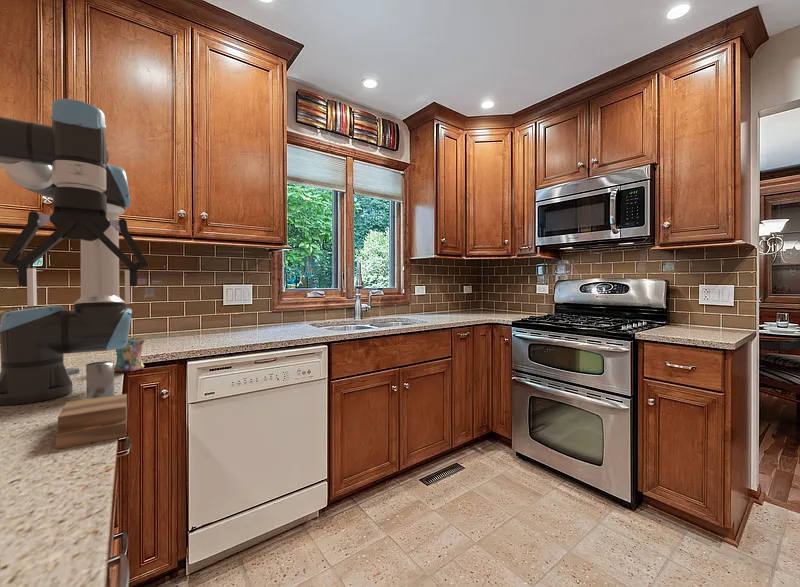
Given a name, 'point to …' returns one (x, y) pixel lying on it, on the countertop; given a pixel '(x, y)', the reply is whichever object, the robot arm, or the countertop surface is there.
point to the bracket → (72, 371)
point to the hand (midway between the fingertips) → (82, 304)
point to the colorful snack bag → (130, 356)
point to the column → (100, 379)
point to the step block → (92, 420)
